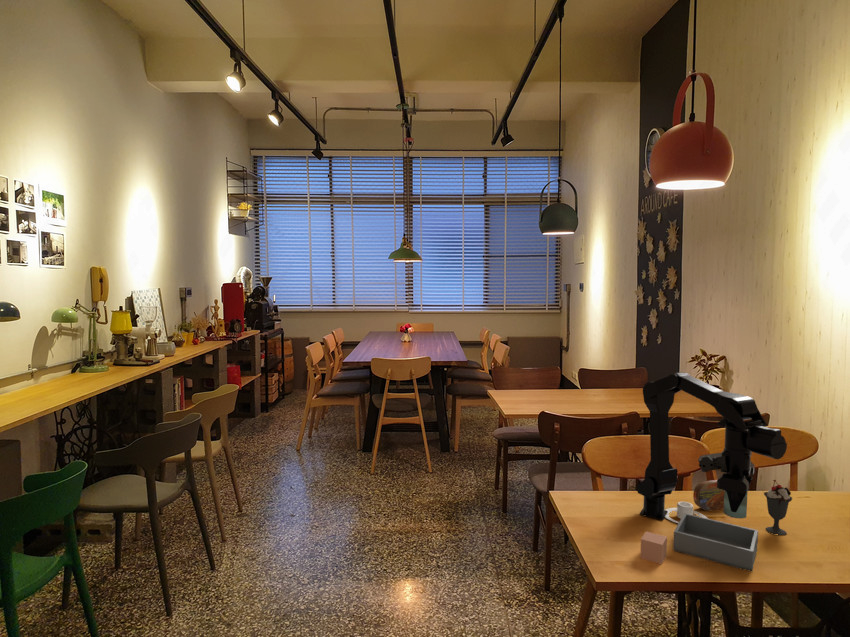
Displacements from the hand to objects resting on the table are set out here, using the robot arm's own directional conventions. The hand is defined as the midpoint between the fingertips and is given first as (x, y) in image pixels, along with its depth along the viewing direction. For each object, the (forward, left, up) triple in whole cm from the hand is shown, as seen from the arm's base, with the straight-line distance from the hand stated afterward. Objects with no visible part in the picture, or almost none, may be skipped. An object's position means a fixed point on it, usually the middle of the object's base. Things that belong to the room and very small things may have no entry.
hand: (735, 508), depth 136 cm
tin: (-29, -8, -12) cm, 33 cm away
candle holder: (-16, -14, -13) cm, 25 cm away
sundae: (-21, +8, -12) cm, 26 cm away
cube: (+13, -16, -12) cm, 24 cm away
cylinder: (0, 0, -2) cm, 2 cm away
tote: (0, -4, -12) cm, 13 cm away
